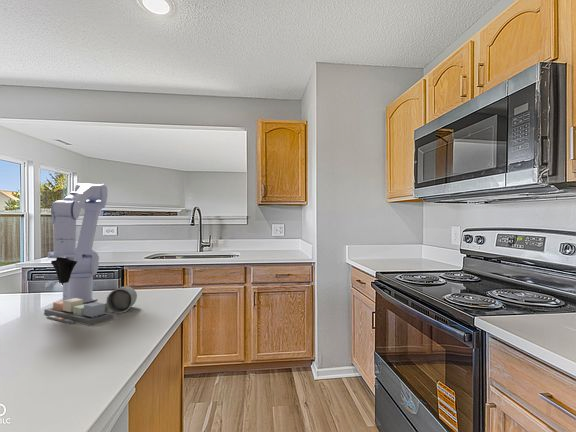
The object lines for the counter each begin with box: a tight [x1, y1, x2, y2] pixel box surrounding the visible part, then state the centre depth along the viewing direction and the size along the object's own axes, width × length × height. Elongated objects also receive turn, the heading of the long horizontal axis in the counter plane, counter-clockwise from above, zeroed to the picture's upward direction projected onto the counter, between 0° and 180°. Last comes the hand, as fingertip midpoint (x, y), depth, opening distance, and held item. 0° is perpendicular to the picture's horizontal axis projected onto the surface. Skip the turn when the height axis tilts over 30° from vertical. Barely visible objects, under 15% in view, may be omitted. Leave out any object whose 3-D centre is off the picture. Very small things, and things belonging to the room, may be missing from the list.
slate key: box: [84, 301, 106, 318], centre depth 99 cm, size 4×4×3 cm
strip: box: [46, 315, 76, 325], centre depth 98 cm, size 12×1×1 cm, turn 64°
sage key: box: [73, 303, 86, 316], centre depth 101 cm, size 4×4×3 cm
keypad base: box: [43, 307, 114, 326], centre depth 102 cm, size 22×7×1 cm, turn 64°
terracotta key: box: [52, 300, 63, 311], centre depth 106 cm, size 4×4×3 cm
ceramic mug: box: [104, 285, 138, 314], centre depth 110 cm, size 11×8×8 cm
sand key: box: [63, 298, 84, 312], centre depth 103 cm, size 4×4×3 cm
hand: (63, 282), depth 106 cm, fingers closed
